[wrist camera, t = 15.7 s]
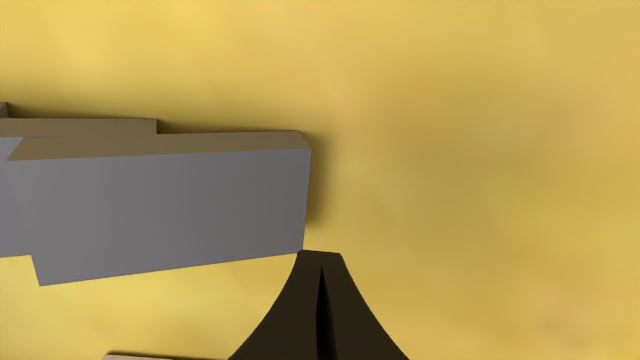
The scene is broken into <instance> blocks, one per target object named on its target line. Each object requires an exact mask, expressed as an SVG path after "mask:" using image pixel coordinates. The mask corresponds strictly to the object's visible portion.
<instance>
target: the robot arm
mask: <svg viewBox="0 0 640 360" xmlns="http://www.w3.org/2000/svg"><path fill="white" fill-rule="evenodd" d="M102 360H171V359H158V358H146V357H133V356H120V355H106V356H104V357H103V358H102ZM228 360H409V359H408V358H407V357H406V356H405V354H404V353H403V352H402V351H401V350H400V349H399V348H398V346H397V345H396V344H395V343H394V342H393V340H392V339H391V338H390V337H389V335H388V334H387V333H386V331H385V330H384V329H383V327H382V326H381V325H380V323H379V322H378V320H377V319H376V318H375V316H374V315H373V313H372V312H371V310H370V309H369V307H368V305H367V304H366V302H365V301H364V299H363V297H362V295H361V294H360V292H359V290H358V289H357V287H356V285H355V283H354V281H353V279H352V277H351V275H350V273H349V271H348V269H347V267H346V265H345V262H344V260H343V257H342V256H341V254H340V253H333V252H322V251H312V250H300V251H298V252H297V258H296V261H295V264H294V267H293V269H292V271H291V274H290V276H289V278H288V280H287V282H286V284H285V285H284V287H283V289H282V291H281V293H280V294H279V296H278V298H277V299H276V301H275V302H274V304H273V305H272V307H271V309H270V310H269V312H268V313H267V314H266V316H265V317H264V319H263V320H262V321H261V323H260V324H259V325H258V326H257V328H256V329H255V330H254V331H253V333H252V334H251V335H250V336H249V337H248V338H247V340H246V341H245V342H244V343H243V344H242V345H241V346H240V347H239V348H238V350H237V351H236V352H235V353H234V354H233V355H232V356H231V357H230V358H229V359H228Z"/></svg>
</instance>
